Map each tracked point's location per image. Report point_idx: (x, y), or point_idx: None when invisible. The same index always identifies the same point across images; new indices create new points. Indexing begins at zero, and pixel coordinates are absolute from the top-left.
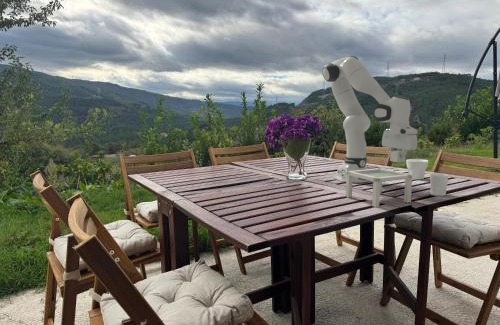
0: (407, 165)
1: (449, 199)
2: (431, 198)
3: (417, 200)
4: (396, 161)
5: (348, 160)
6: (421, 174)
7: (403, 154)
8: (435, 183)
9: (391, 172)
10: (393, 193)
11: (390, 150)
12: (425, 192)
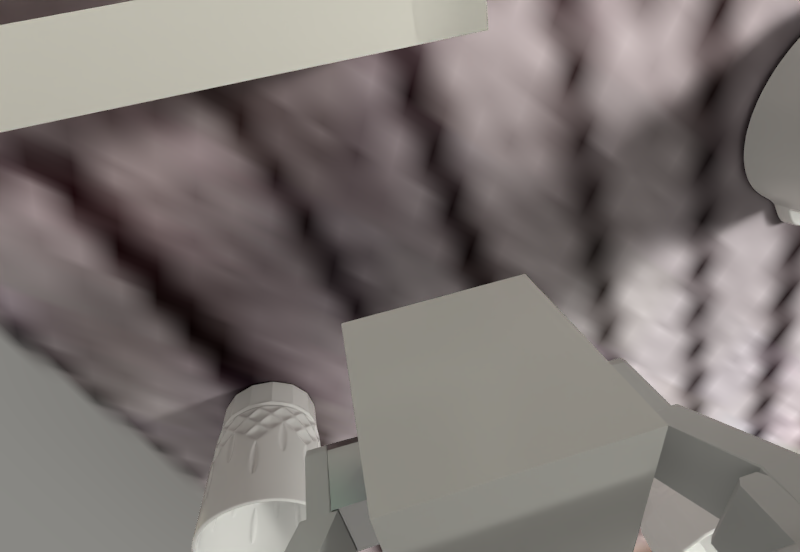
0: None
1: (124, 417)
2: (154, 339)
3: (71, 219)
4: (365, 325)
5: None
6: None
7: (299, 545)
8: (229, 455)
9: (47, 18)
10: (351, 162)
11: (732, 452)
12: (337, 374)
